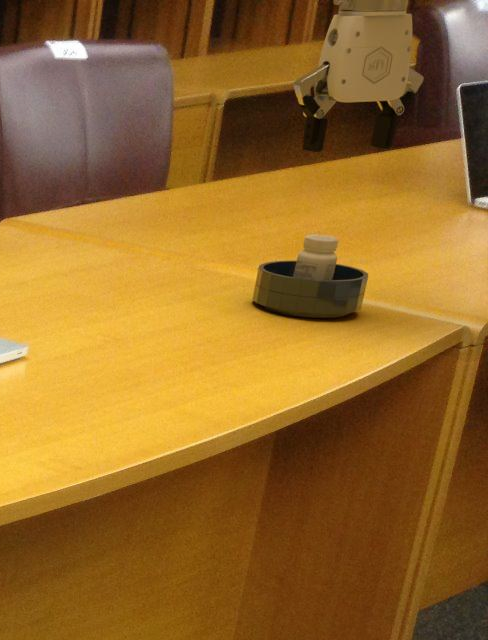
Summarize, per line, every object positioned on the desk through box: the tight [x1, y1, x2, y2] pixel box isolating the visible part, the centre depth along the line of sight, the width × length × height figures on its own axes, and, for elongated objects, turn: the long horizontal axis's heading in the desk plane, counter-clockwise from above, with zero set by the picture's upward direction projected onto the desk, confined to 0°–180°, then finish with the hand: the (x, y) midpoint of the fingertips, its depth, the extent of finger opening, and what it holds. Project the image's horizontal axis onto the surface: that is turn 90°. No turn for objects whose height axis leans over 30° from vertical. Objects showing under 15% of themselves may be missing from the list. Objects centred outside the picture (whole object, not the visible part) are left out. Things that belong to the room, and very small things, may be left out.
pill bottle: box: [293, 234, 339, 280], centre depth 200 cm, size 5×5×8 cm
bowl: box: [252, 260, 369, 319], centre depth 201 cm, size 13×13×5 cm
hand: (346, 149), depth 194 cm, fingers open, 9 cm apart
